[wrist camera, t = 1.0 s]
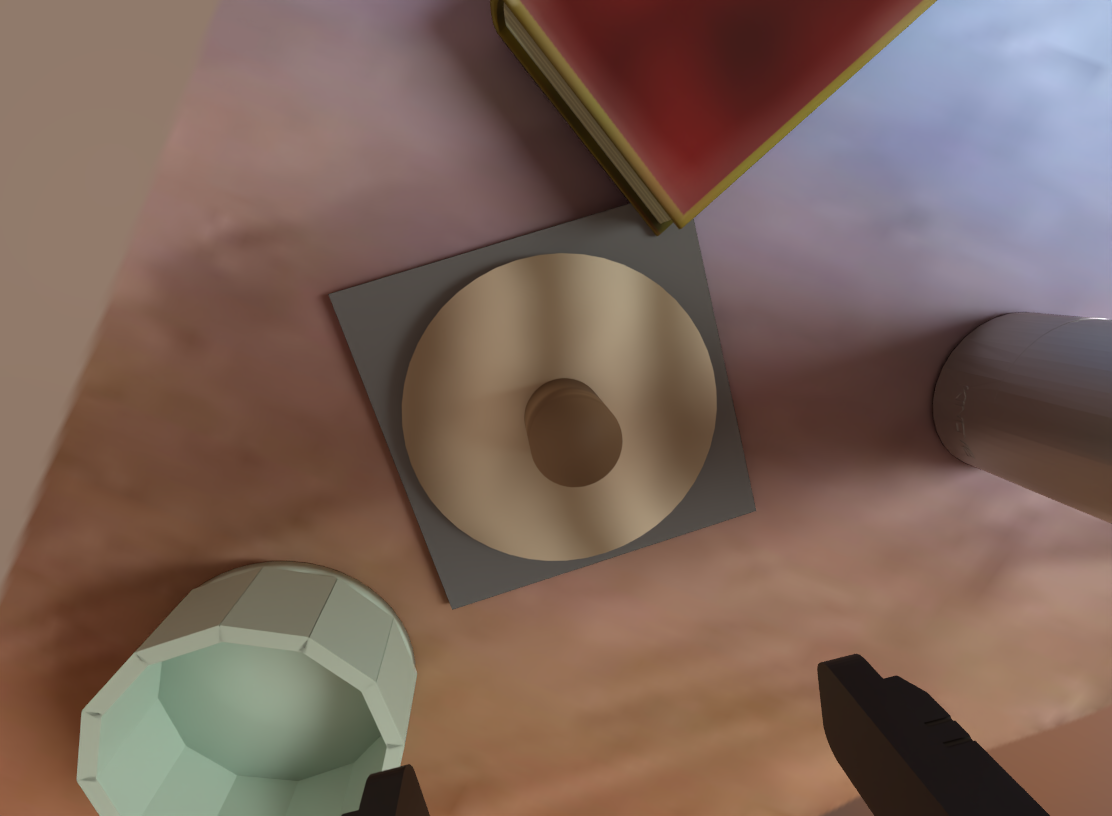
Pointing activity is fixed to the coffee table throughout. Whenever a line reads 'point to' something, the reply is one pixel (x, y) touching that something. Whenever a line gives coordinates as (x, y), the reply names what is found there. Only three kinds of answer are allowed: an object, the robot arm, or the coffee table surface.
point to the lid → (559, 407)
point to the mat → (419, 294)
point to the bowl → (254, 701)
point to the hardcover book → (691, 81)
